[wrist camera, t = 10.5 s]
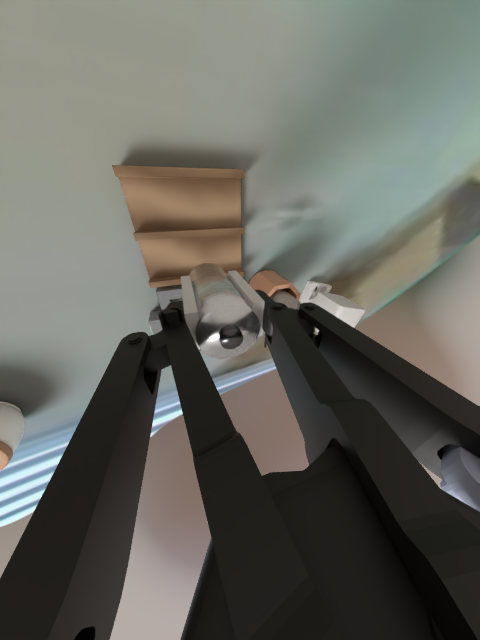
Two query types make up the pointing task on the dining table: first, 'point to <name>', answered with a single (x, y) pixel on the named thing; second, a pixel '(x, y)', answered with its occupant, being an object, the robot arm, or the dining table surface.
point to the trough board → (184, 218)
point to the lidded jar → (10, 431)
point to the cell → (221, 314)
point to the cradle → (164, 304)
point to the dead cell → (285, 299)
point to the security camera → (332, 303)
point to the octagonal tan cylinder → (272, 283)
